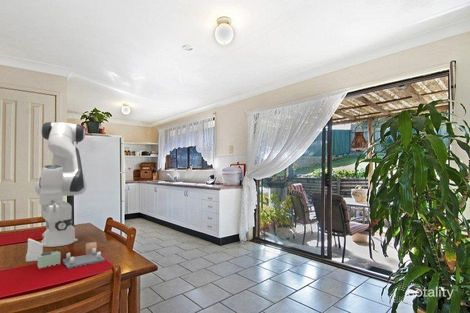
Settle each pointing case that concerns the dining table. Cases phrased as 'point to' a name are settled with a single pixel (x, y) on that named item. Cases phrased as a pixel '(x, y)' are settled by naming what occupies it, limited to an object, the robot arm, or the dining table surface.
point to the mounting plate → (83, 259)
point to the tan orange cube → (90, 247)
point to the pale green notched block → (48, 259)
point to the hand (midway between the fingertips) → (49, 230)
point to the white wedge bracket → (33, 250)
